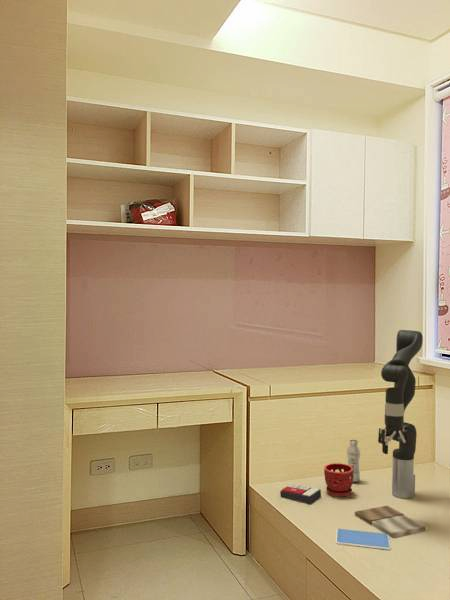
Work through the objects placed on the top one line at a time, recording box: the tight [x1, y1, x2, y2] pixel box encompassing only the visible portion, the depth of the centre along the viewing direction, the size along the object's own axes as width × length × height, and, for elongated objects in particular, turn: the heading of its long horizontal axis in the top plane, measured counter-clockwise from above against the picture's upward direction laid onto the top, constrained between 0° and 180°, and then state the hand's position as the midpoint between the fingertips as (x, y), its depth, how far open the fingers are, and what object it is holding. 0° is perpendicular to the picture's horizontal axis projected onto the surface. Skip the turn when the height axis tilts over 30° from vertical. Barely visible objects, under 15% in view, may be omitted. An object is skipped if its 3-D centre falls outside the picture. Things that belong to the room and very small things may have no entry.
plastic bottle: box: [346, 439, 361, 483], centre depth 261 cm, size 6×7×20 cm
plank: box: [371, 514, 427, 539], centre depth 209 cm, size 16×12×2 cm
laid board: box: [354, 505, 405, 526], centre depth 220 cm, size 17×10×2 cm, turn 114°
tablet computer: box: [335, 528, 392, 551], centre depth 199 cm, size 19×13×1 cm, turn 76°
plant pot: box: [323, 462, 354, 497], centre depth 245 cm, size 13×13×12 cm
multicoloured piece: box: [280, 483, 322, 505], centre depth 240 cm, size 11×4×15 cm
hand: (393, 452), depth 221 cm, fingers open, 8 cm apart
